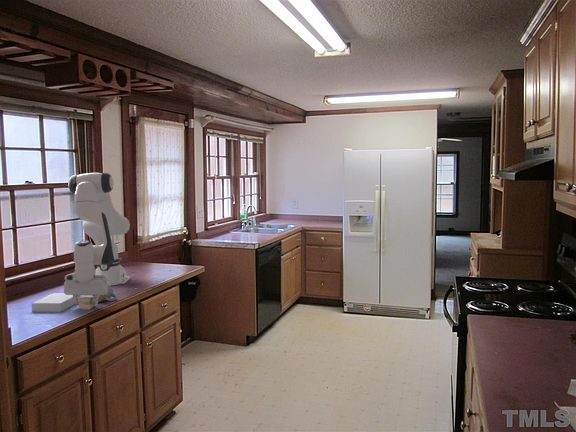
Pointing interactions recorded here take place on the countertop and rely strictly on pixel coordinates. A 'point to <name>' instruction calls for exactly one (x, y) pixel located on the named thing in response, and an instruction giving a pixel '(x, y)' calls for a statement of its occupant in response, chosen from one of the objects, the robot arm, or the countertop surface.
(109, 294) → the ceramic mug
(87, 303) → the birch cube
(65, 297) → the grey platform
